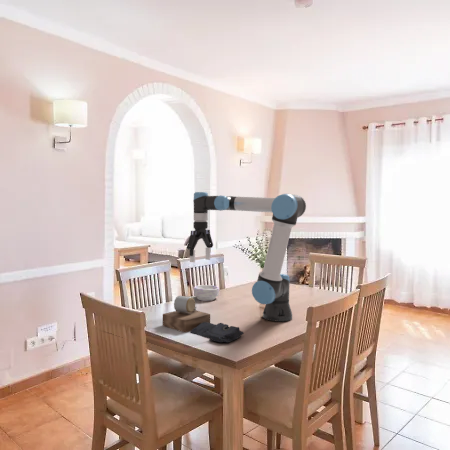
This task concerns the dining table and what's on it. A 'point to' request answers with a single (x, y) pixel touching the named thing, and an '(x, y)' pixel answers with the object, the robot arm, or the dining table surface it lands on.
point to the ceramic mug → (184, 304)
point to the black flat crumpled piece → (217, 332)
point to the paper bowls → (206, 292)
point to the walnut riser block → (185, 320)
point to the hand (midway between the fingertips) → (200, 260)
